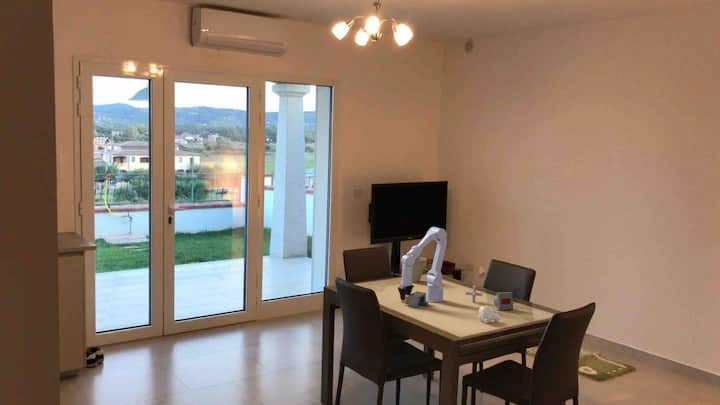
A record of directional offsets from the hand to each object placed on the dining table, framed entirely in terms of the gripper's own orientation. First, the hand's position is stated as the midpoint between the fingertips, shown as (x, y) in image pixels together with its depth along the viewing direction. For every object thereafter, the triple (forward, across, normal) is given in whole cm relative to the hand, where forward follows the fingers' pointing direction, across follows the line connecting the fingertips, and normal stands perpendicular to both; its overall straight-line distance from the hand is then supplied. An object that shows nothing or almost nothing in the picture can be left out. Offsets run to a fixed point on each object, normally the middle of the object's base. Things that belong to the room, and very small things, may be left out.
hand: (405, 298), depth 356 cm
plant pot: (+3, -56, -19) cm, 59 cm away
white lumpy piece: (+3, +7, +53) cm, 53 cm away
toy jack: (+3, -29, +32) cm, 44 cm away
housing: (+2, 0, +8) cm, 8 cm away
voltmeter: (+3, -32, +53) cm, 62 cm away
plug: (+3, -1, +6) cm, 6 cm away
